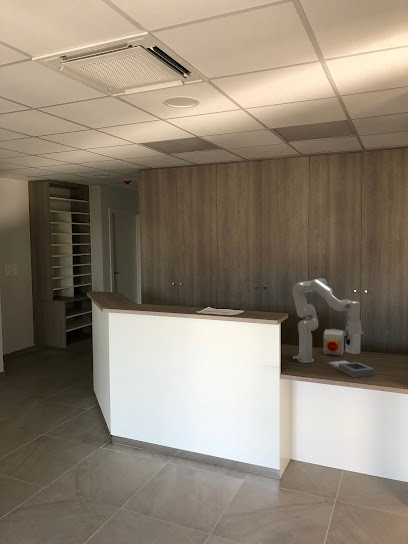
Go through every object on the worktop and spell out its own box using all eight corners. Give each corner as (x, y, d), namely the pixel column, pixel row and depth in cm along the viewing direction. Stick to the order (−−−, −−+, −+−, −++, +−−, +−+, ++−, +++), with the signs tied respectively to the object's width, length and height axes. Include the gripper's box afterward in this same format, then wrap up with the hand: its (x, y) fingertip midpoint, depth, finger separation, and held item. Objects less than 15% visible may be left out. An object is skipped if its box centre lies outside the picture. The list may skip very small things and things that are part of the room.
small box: (360, 353, 313) (361, 334, 311) (353, 354, 310) (354, 335, 308) (351, 350, 320) (351, 332, 319) (344, 351, 317) (345, 333, 315)
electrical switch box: (322, 358, 358) (322, 334, 354) (325, 351, 371) (325, 328, 367) (341, 360, 352) (341, 335, 348) (343, 352, 366) (343, 329, 362)
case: (353, 377, 301) (353, 371, 301) (326, 364, 333) (326, 358, 333) (374, 375, 305) (374, 368, 305) (345, 362, 338) (345, 356, 338)
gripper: (345, 320, 307) (344, 346, 308) (368, 319, 311) (367, 344, 313) (339, 318, 314) (338, 343, 315) (361, 317, 318) (360, 342, 320)
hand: (352, 344), depth 314 cm, fingers closed on small box, 7 cm apart
